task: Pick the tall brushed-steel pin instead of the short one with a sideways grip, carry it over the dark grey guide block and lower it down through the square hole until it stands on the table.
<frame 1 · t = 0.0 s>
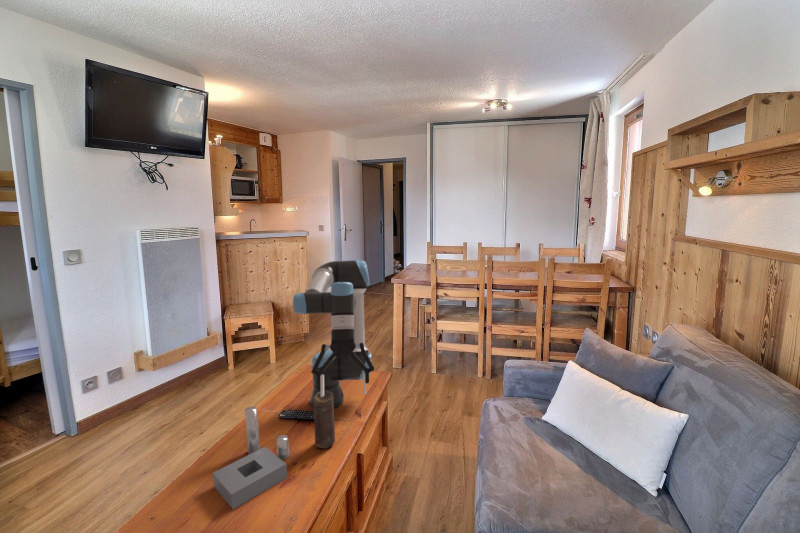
hand: (343, 395, 123), 28 cm above the table, tool tilted 20°, fingers open, 13 cm apart
brown textured cylinder: (325, 445, 143), on the table
short pin: (283, 456, 137), on the table
guide block: (251, 482, 124), on the table
long pin: (254, 452, 139), on the table
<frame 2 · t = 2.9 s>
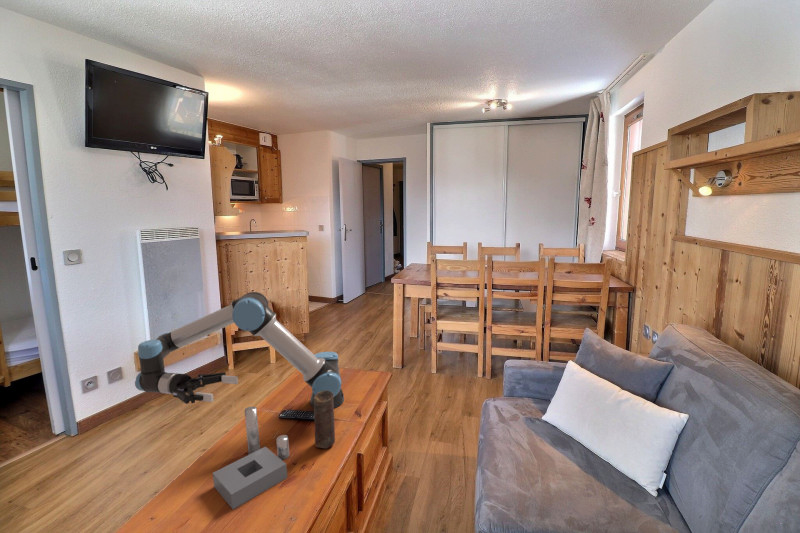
hand: (225, 388, 137), 24 cm above the table, tool horizontal, fingers open, 13 cm apart
nothing on the table moved.
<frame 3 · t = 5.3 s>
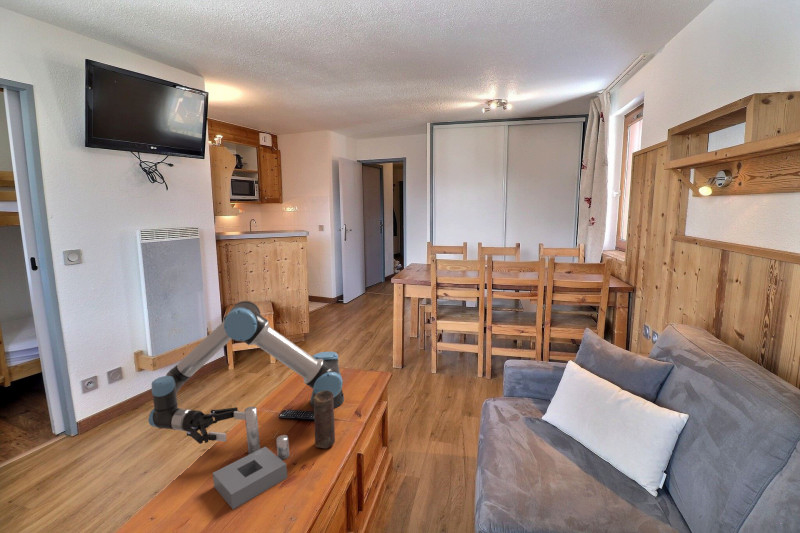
hand: (238, 426, 138), 10 cm above the table, tool horizontal, fingers open, 13 cm apart
nothing on the table moved.
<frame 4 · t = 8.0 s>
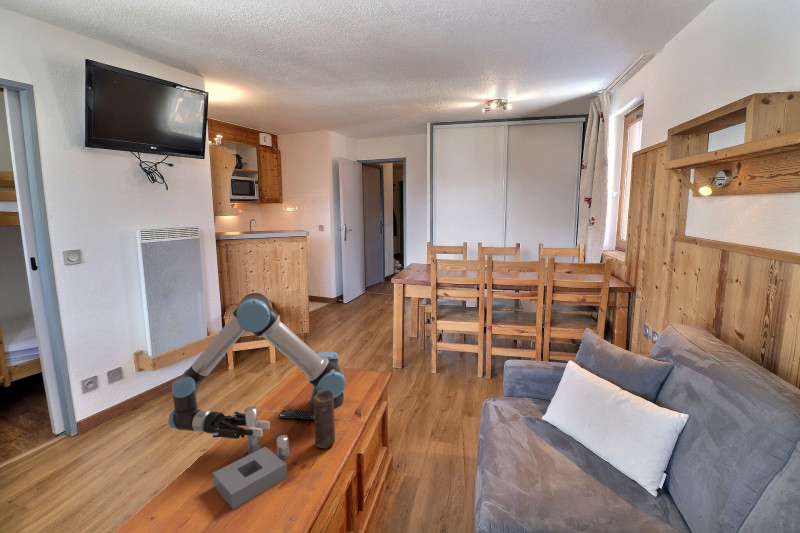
hand: (265, 428, 136), 10 cm above the table, tool horizontal, fingers closed on long pin, 4 cm apart
long pin: (254, 452, 139), on the table, touching gripper
everything else where it was.
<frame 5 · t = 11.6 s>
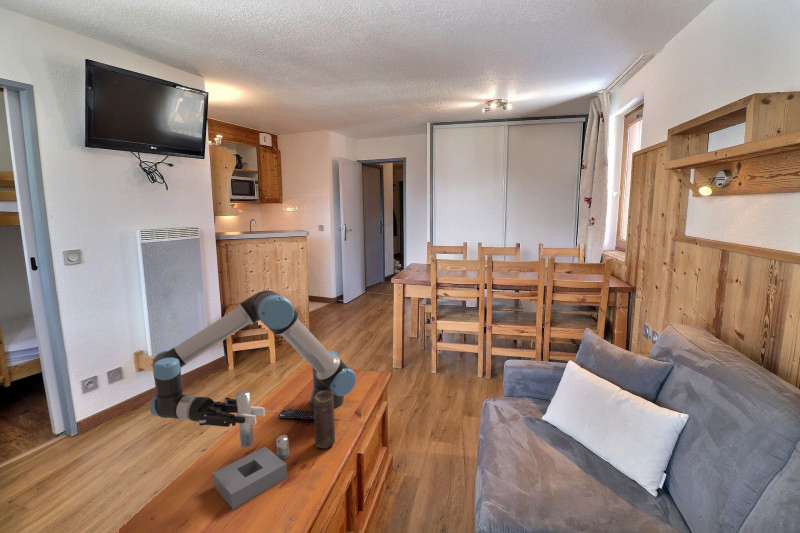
hand: (259, 415, 119), 24 cm above the table, tool horizontal, fingers closed on long pin, 4 cm apart
long pin: (247, 443, 122), point 14 cm above the table, touching gripper
everything else where it was.
when the fingers open (11 cm above the table, at t = 15.5 s): long pin stays where it is, resting in guide block.
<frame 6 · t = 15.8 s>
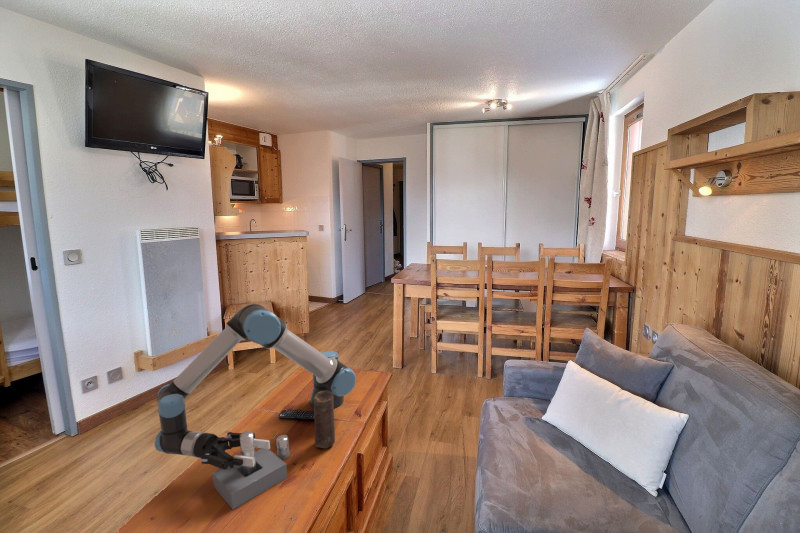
hand: (261, 453, 121), 11 cm above the table, tool horizontal, fingers open, 8 cm apart
long pin: (251, 482, 124), resting in guide block
everything else where it was.
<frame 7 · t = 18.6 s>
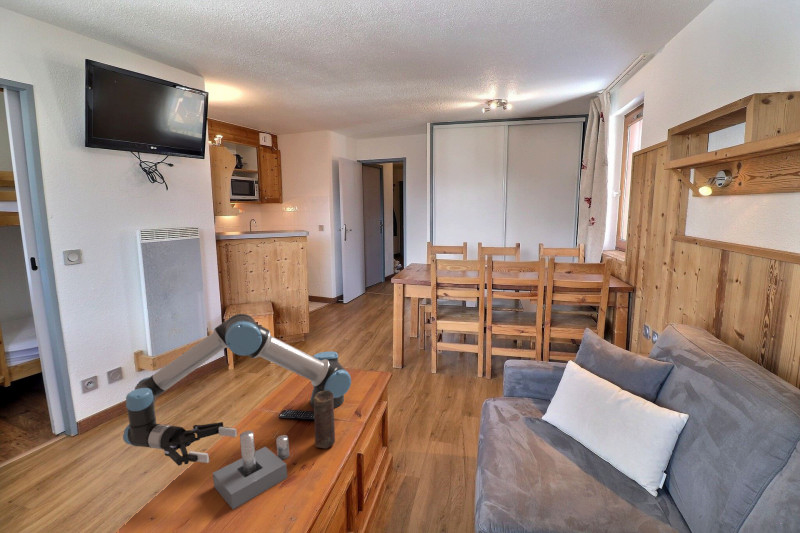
hand: (222, 444, 124), 12 cm above the table, tool horizontal, fingers open, 13 cm apart
nothing on the table moved.
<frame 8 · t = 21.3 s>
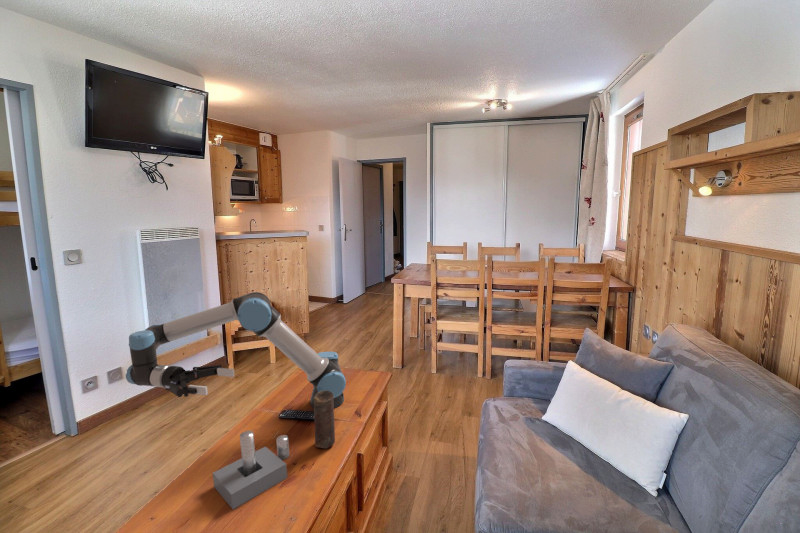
hand: (220, 381, 130), 30 cm above the table, tool horizontal, fingers open, 13 cm apart
nothing on the table moved.
at the end: long pin 0.1 cm off-centre on the guide block, point 0.0 cm above the guide block's base; long pin tilted 0°; the gripper is holding nothing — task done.
